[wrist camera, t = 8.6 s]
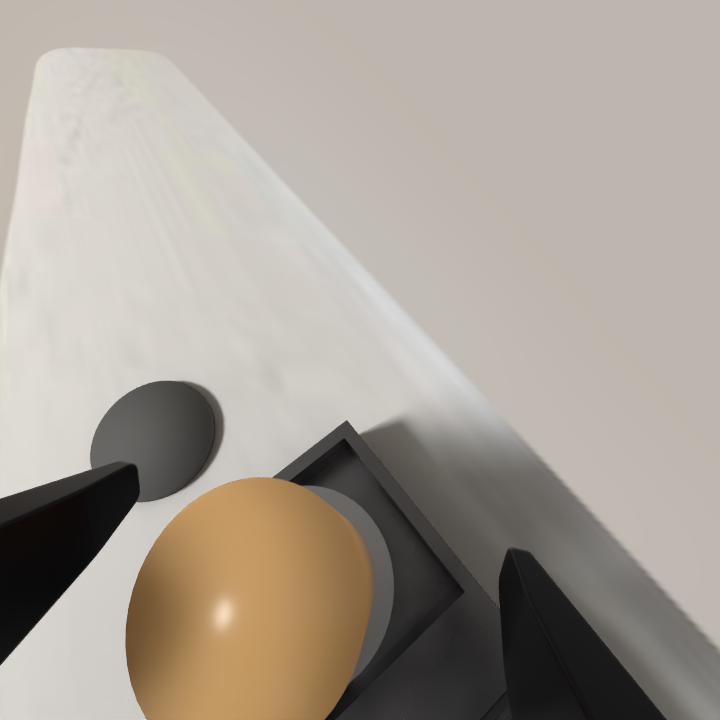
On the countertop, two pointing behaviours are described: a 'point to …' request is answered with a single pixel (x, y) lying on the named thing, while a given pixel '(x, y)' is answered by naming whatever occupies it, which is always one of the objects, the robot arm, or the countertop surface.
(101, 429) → the coaster
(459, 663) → the two-slot holder tray
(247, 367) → the countertop surface
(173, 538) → the multicoloured piece
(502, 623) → the robot arm
